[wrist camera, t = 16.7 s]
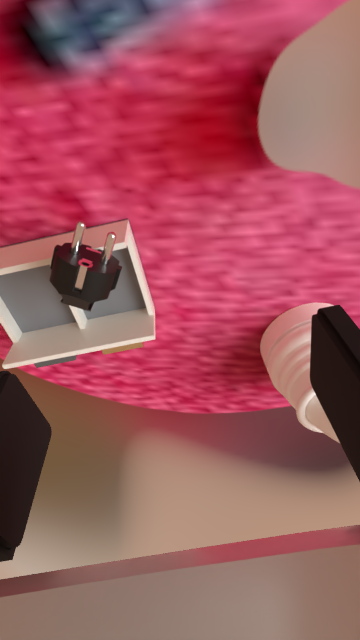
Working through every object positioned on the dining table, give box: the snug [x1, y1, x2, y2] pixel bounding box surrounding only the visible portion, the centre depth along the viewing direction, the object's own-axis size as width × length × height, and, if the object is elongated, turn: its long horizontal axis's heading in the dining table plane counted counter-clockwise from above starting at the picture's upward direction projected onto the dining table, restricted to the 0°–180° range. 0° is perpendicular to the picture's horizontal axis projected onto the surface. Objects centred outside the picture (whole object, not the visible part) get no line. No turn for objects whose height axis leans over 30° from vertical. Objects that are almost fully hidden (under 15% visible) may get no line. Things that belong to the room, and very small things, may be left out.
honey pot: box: [260, 303, 340, 443], centre depth 41 cm, size 13×13×18 cm
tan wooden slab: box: [102, 342, 143, 354], centre depth 43 cm, size 1×5×4 cm, turn 102°
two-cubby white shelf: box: [0, 219, 155, 369], centre depth 38 cm, size 12×18×6 cm, turn 101°
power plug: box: [49, 221, 122, 312], centre depth 32 cm, size 6×8×12 cm
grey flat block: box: [34, 355, 77, 368], centre depth 44 cm, size 1×5×4 cm, turn 102°
